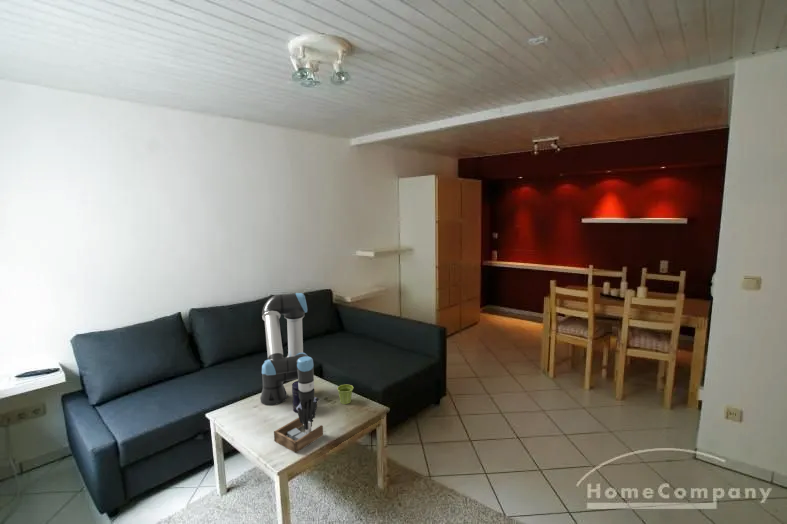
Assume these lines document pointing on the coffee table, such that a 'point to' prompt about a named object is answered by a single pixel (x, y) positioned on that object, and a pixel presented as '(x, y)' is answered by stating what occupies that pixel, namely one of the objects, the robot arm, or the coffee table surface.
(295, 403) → the storage jar
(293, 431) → the tile
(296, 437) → the tile
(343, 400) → the plant pot
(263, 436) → the coffee table surface
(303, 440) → the frame
